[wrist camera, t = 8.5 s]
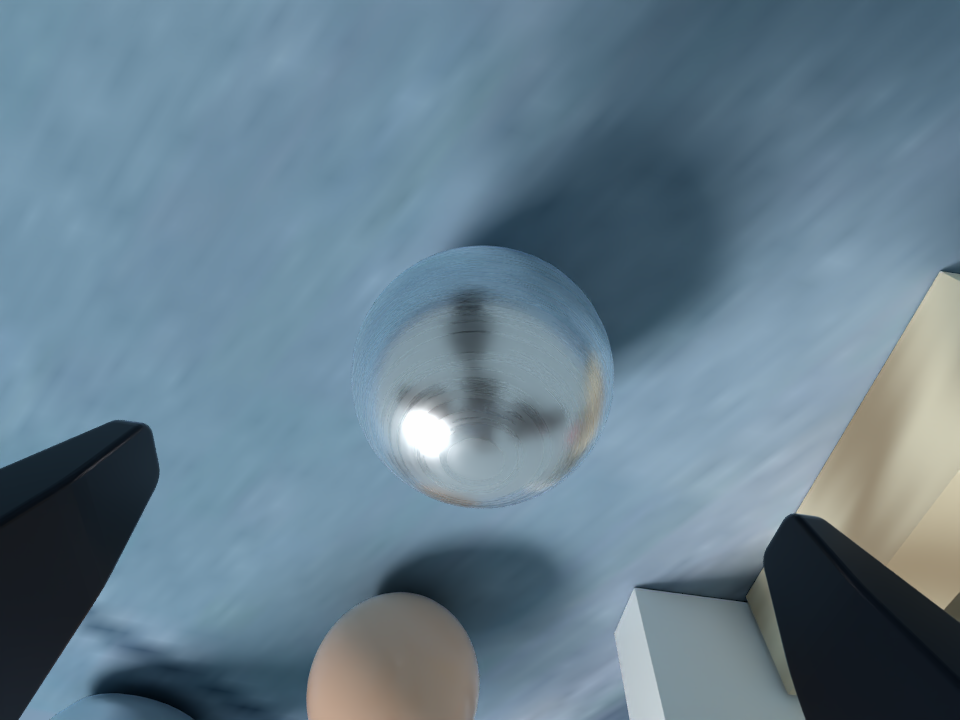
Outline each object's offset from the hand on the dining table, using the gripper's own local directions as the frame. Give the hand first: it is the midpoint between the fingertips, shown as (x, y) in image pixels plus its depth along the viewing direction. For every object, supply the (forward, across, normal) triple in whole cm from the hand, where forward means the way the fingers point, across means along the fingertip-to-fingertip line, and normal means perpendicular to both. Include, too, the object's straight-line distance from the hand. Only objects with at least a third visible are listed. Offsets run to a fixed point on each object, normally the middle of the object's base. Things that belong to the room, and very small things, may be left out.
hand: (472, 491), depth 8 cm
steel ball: (+3, 0, 0) cm, 3 cm away
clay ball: (+3, +1, +11) cm, 12 cm away
